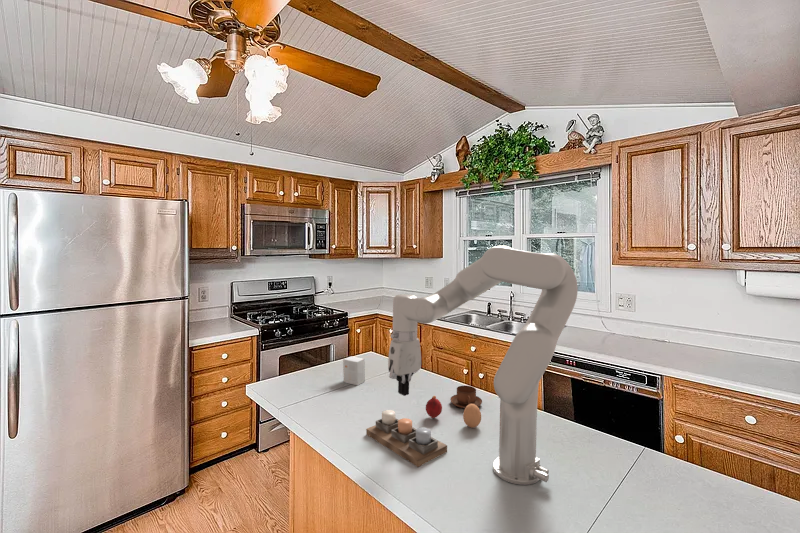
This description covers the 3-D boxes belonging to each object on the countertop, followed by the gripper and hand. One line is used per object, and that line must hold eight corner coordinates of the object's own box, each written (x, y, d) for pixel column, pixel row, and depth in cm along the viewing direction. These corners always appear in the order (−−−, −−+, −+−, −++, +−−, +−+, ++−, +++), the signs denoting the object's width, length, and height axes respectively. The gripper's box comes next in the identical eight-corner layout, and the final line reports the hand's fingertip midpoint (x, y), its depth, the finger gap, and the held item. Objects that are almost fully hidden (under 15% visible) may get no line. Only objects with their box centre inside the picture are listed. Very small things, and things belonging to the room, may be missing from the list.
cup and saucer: (488, 408, 145) (488, 392, 145) (460, 413, 141) (460, 397, 141) (471, 396, 156) (471, 381, 156) (444, 401, 152) (444, 385, 152)
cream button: (398, 422, 125) (398, 413, 125) (387, 426, 123) (387, 417, 122) (389, 417, 129) (389, 408, 129) (379, 421, 126) (379, 412, 126)
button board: (447, 451, 115) (447, 438, 114) (417, 467, 107) (417, 453, 107) (394, 423, 133) (394, 412, 133) (366, 434, 125) (366, 422, 125)
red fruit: (441, 422, 133) (441, 400, 133) (424, 421, 135) (424, 398, 134) (442, 415, 139) (442, 393, 139) (426, 413, 140) (426, 392, 140)
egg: (481, 432, 127) (481, 408, 126) (462, 430, 128) (462, 407, 127) (481, 423, 133) (481, 401, 132) (463, 422, 134) (463, 399, 133)
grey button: (433, 441, 113) (433, 431, 113) (423, 446, 110) (423, 436, 110) (423, 435, 117) (423, 426, 116) (412, 440, 114) (412, 430, 114)
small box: (365, 381, 172) (365, 358, 172) (357, 385, 168) (357, 361, 167) (351, 378, 177) (351, 355, 176) (343, 382, 172) (343, 358, 171)
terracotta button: (415, 431, 119) (415, 421, 119) (404, 436, 116) (404, 426, 116) (405, 426, 123) (405, 417, 123) (395, 430, 120) (395, 421, 120)
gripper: (394, 341, 110) (392, 404, 111) (430, 334, 120) (429, 391, 121) (377, 336, 116) (376, 396, 117) (414, 329, 126) (412, 384, 127)
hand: (403, 393), depth 119 cm, fingers closed
